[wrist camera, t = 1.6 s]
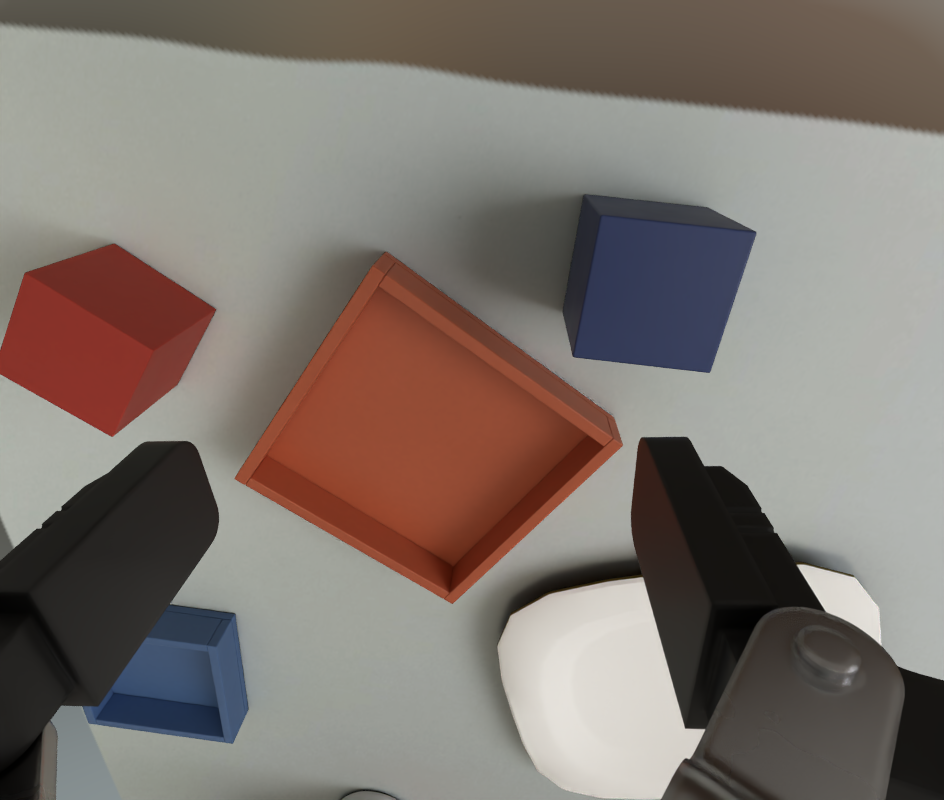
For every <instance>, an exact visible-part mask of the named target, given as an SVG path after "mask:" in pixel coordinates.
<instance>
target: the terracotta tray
mask: <svg viewBox="0 0 944 800" xmlns="http://www.w3.org/2000/svg"><path fill="white" fill-rule="evenodd" d="M622 446H623V444H622V441H621V437H620V434H619V431H618V428H617V425H616V423H615V419H614V417H612V416H611V415H610V414H608V413H607V412H606V411H604V410H603V409H602V408H600V407H599V406H597V405H596V404H595V403H593V402H592V401H591V400H589V399H588V398H586V397H585V396H584V395H582V394H581V393H580V392H578V391H577V390H575V389H574V388H573V387H571V386H570V385H569V384H567V383H566V382H565V381H563V380H562V379H560V378H559V377H558V376H556V375H555V374H554V373H552V372H551V371H549V370H548V369H547V368H545V367H544V366H543V365H541V364H540V363H539V362H537V361H536V360H534V359H533V358H532V357H530V356H529V355H528V354H526V353H525V352H523V351H522V350H521V349H519V348H518V347H517V346H515V345H514V344H512V343H511V342H510V341H508V340H507V339H506V338H504V337H503V336H502V335H500V334H499V333H497V332H496V331H495V330H493V329H492V328H491V327H489V326H488V325H486V324H485V323H484V322H482V321H481V320H480V319H478V318H477V317H476V316H474V315H473V314H471V313H470V312H469V311H467V310H466V309H465V308H463V307H462V306H460V305H459V304H458V303H456V302H455V301H454V300H452V299H451V298H449V297H448V296H447V295H445V294H444V293H443V292H441V291H440V290H439V289H437V288H436V287H434V286H433V285H432V284H430V283H429V282H428V281H426V280H425V279H423V278H422V277H421V276H419V275H418V274H417V273H415V272H414V271H413V270H411V269H410V268H408V267H407V266H406V265H404V264H403V263H402V262H400V261H399V260H397V259H396V258H395V257H393V256H392V255H391V254H389V253H388V252H385V253H384V254H383V255H382V256H381V257H380V258H379V259H378V260H377V261H376V262H375V263H374V264H373V265H372V267H371V268H370V270H369V271H368V273H367V275H366V276H365V278H364V279H363V281H362V282H361V284H360V285H359V287H358V288H357V290H356V291H355V293H354V295H353V296H352V298H351V299H350V301H349V302H348V304H347V305H346V307H345V308H344V310H343V312H342V313H341V315H340V316H339V318H338V319H337V321H336V322H335V324H334V325H333V327H332V329H331V330H330V332H329V333H328V335H327V336H326V338H325V339H324V341H323V342H322V344H321V346H320V347H319V349H318V350H317V352H316V353H315V355H314V356H313V358H312V359H311V361H310V362H309V364H308V366H307V367H306V369H305V370H304V372H303V373H302V375H301V376H300V378H299V379H298V381H297V383H296V384H295V386H294V387H293V389H292V390H291V392H290V393H289V395H288V396H287V398H286V400H285V401H284V403H283V404H282V406H281V407H280V409H279V410H278V412H277V413H276V415H275V417H274V418H273V420H272V421H271V423H270V424H269V426H268V427H267V429H266V430H265V432H264V433H263V435H262V437H261V438H260V440H259V441H258V443H257V444H256V446H255V447H254V449H253V450H252V452H251V454H250V455H249V457H248V458H247V460H246V461H245V463H244V464H243V466H242V467H241V469H240V471H239V472H238V474H237V475H236V477H235V480H237V481H239V482H241V483H242V484H244V485H245V484H246V486H248V487H250V488H251V489H253V490H255V491H257V492H258V493H260V494H262V495H263V496H265V497H267V498H269V499H270V500H272V501H274V502H276V503H277V504H279V505H281V506H283V507H284V508H286V509H288V510H290V511H291V512H293V513H295V514H297V515H298V516H300V517H302V518H304V519H305V520H307V521H309V522H311V523H312V524H314V525H316V526H317V527H319V528H321V529H323V530H324V531H326V532H328V533H330V534H331V535H333V536H335V537H337V538H338V539H340V540H342V541H344V542H345V543H347V544H349V545H351V546H352V547H354V548H356V549H358V550H359V551H361V552H363V553H365V554H366V555H368V556H370V557H372V558H373V559H375V560H377V561H378V562H380V563H382V564H384V565H385V566H387V567H389V568H391V569H392V570H394V571H396V572H398V573H399V574H401V575H403V576H405V577H406V578H408V579H410V580H412V581H413V582H415V583H417V584H419V585H420V586H422V587H424V588H426V589H427V590H429V591H431V592H433V593H434V594H436V595H438V596H439V597H441V598H444V599H445V600H446V601H448V602H450V603H452V604H453V603H454V602H455V601H456V600H457V599H458V598H459V597H460V596H462V595H463V594H464V593H465V592H466V591H467V590H468V589H469V588H470V587H471V586H472V585H473V584H474V583H475V582H477V581H478V580H479V579H480V578H481V577H482V576H483V575H484V574H485V573H486V572H487V571H488V570H489V569H491V568H492V567H493V566H494V565H495V564H496V563H497V562H498V561H499V560H500V559H501V558H502V557H503V556H505V555H506V554H507V553H508V552H509V551H510V550H511V549H512V548H513V547H514V546H515V545H516V544H517V543H519V542H520V541H521V540H522V539H523V538H524V537H525V536H526V535H527V534H528V533H529V532H530V531H531V530H533V529H534V528H535V527H536V526H537V525H538V524H539V523H540V522H541V521H542V520H543V519H544V518H545V517H547V516H548V515H549V514H550V513H551V512H552V511H553V510H554V509H555V508H556V507H557V506H558V505H559V504H561V503H562V502H563V501H564V500H565V499H566V498H567V497H568V496H569V495H570V494H571V493H572V492H573V491H575V490H576V489H577V488H578V487H579V486H580V485H581V484H582V483H583V482H584V481H585V480H586V479H587V478H588V477H590V476H591V475H592V474H593V473H594V472H595V471H596V470H597V469H598V468H599V467H600V466H601V465H602V464H604V463H605V462H606V461H607V460H608V459H609V458H610V457H611V456H612V455H613V454H614V453H615V452H616V451H618V450H619V449H620V448H621V447H622Z"/></svg>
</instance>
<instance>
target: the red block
mask: <svg viewBox="0 0 944 800" xmlns="http://www.w3.org/2000/svg"><path fill="white" fill-rule="evenodd" d="M215 311H216V309H215V308H213V307H212V306H210V305H209V304H207V303H206V302H204V301H202V300H201V299H199V298H198V297H196V296H195V295H193V294H192V293H190V292H189V291H187V290H185V289H184V288H182V287H181V286H179V285H178V284H176V283H175V282H173V281H171V280H170V279H168V278H167V277H165V276H164V275H162V274H161V273H159V272H158V271H156V270H154V269H153V268H151V267H150V266H148V265H147V264H145V263H144V262H142V261H141V260H139V259H137V258H136V257H134V256H133V255H131V254H130V253H128V252H127V251H125V250H124V249H122V248H120V247H119V246H117V245H116V244H111V245H108V246H105V247H102V248H99V249H96V250H93V251H90V252H87V253H84V254H81V255H77V256H74V257H71V258H68V259H65V260H62V261H59V262H56V263H53V264H50V265H47V266H44V267H41V268H38V269H35V270H32V271H29V272H26V273H25V274H24V277H23V280H22V283H21V286H20V289H19V293H18V296H17V299H16V302H15V305H14V308H13V312H12V315H11V318H10V321H9V324H8V327H7V331H6V334H5V337H4V340H3V343H2V346H1V350H0V374H1V375H3V376H4V377H6V378H8V379H10V380H12V381H13V382H15V383H17V384H19V385H20V386H22V387H24V388H26V389H28V390H29V391H31V392H33V393H35V394H36V395H38V396H40V397H42V398H44V399H45V400H47V401H49V402H51V403H53V404H54V405H56V406H58V407H60V408H61V409H63V410H65V411H67V412H69V413H70V414H72V415H74V416H76V417H77V418H79V419H81V420H83V421H85V422H86V423H88V424H90V425H92V426H93V427H95V428H97V429H99V430H101V431H102V432H104V433H106V434H108V435H109V436H111V437H113V436H114V435H115V434H117V433H118V432H119V431H120V430H122V429H123V428H124V427H125V426H127V425H128V424H129V423H130V422H132V421H133V420H134V419H135V418H137V417H138V416H139V415H140V414H142V413H143V412H144V411H145V410H147V409H148V408H149V407H150V406H151V405H153V404H154V403H155V402H156V401H158V400H159V399H160V398H161V397H163V396H164V395H165V394H166V393H168V392H169V391H170V390H171V389H173V388H174V387H175V386H176V385H177V384H178V382H179V381H180V379H181V377H182V375H183V373H184V371H185V369H186V367H187V365H188V363H189V361H190V359H191V357H192V355H193V354H194V352H195V350H196V348H197V346H198V344H199V342H200V340H201V338H202V336H203V334H204V332H205V330H206V329H207V327H208V325H209V323H210V321H211V319H212V317H213V315H214V313H215Z"/></svg>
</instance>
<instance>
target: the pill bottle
mask: <svg viewBox="0 0 944 800" xmlns="http://www.w3.org/2000/svg"><path fill="white" fill-rule="evenodd" d="M342 800H396V799H395V798H393V797H391V796H388V795H385V794H382V793H378V792H372V791H360V792H356V793H352V794H350V795H348V796H346V797H344V798H343V799H342Z"/></svg>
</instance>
